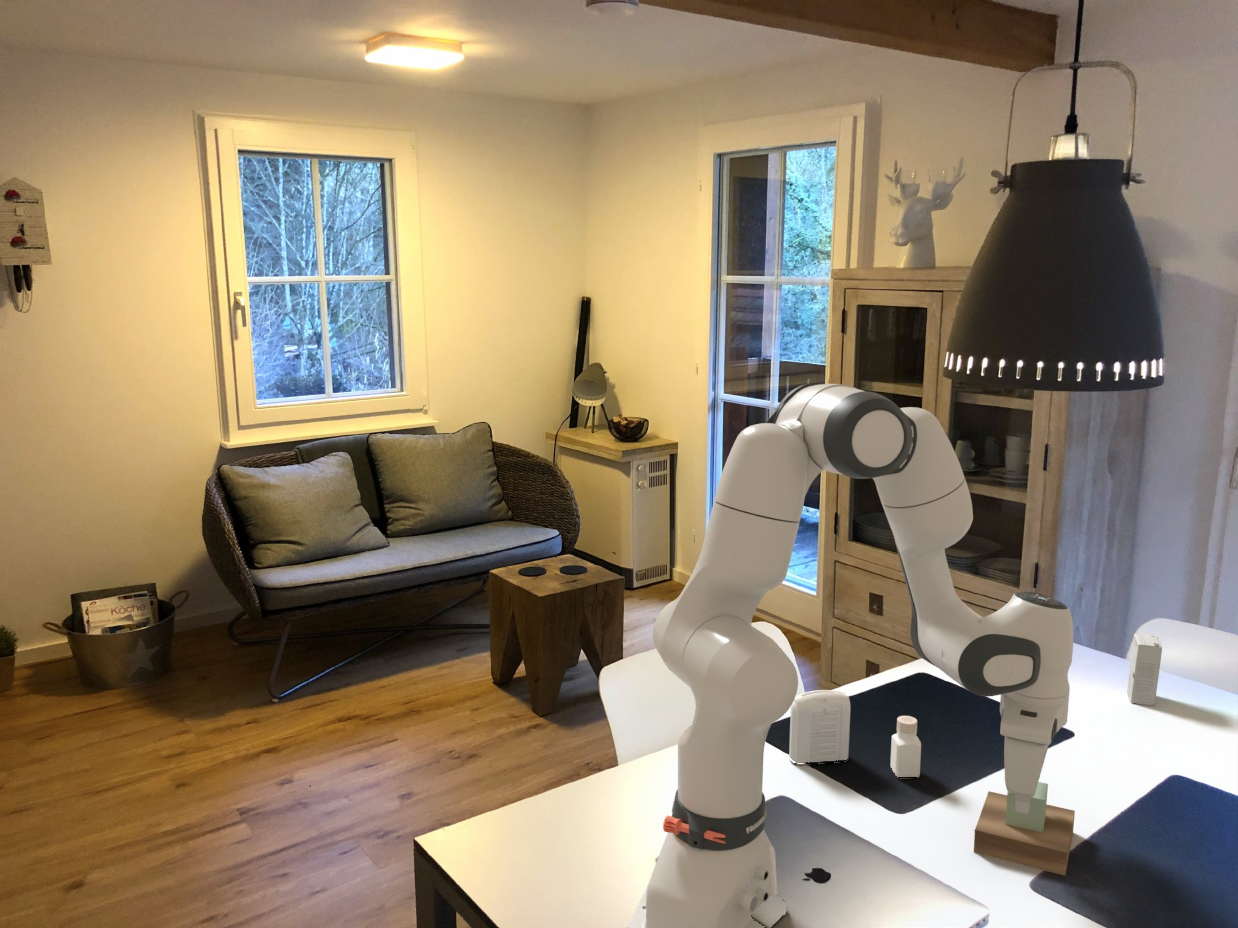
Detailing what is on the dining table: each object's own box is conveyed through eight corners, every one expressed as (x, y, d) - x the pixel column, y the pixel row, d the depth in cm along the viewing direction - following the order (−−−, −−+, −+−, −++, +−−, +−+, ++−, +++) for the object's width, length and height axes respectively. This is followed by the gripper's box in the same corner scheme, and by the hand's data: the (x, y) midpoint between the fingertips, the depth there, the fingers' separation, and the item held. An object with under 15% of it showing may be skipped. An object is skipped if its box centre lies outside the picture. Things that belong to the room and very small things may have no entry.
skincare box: (1126, 690, 193) (1131, 632, 191) (1152, 693, 192) (1157, 634, 189) (1130, 703, 188) (1136, 643, 185) (1157, 707, 186) (1162, 646, 184)
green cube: (1043, 832, 139) (1045, 800, 138) (1005, 823, 141) (1007, 792, 140) (1045, 815, 143) (1048, 783, 143) (1008, 807, 146) (1011, 776, 145)
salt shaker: (912, 766, 165) (915, 713, 163) (920, 778, 161) (923, 724, 159) (889, 767, 165) (891, 714, 163) (896, 779, 161) (898, 725, 159)
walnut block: (1065, 878, 135) (1067, 852, 134) (973, 855, 141) (974, 829, 140) (1072, 835, 145) (1074, 810, 145) (987, 814, 151) (988, 790, 150)
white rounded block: (843, 750, 171) (845, 683, 168) (852, 762, 167) (854, 694, 164) (785, 755, 169) (787, 688, 167) (793, 767, 165) (794, 698, 163)
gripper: (1020, 674, 149) (1014, 759, 152) (998, 728, 132) (992, 823, 134) (1065, 682, 146) (1059, 768, 149) (1049, 739, 129) (1042, 835, 131)
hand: (1027, 795), depth 142 cm, fingers open, 8 cm apart
